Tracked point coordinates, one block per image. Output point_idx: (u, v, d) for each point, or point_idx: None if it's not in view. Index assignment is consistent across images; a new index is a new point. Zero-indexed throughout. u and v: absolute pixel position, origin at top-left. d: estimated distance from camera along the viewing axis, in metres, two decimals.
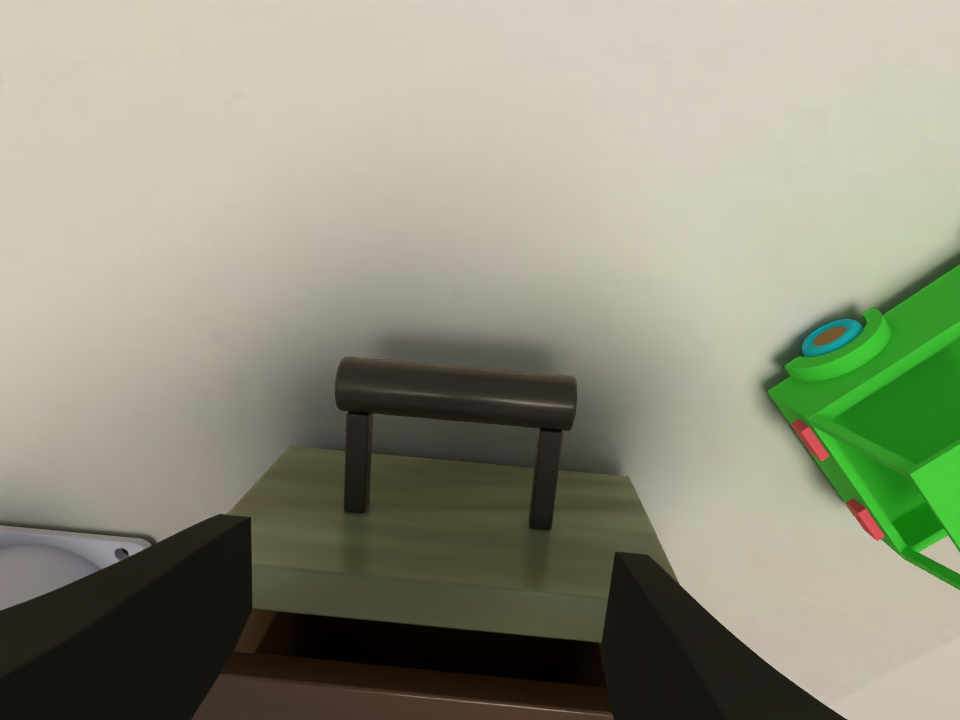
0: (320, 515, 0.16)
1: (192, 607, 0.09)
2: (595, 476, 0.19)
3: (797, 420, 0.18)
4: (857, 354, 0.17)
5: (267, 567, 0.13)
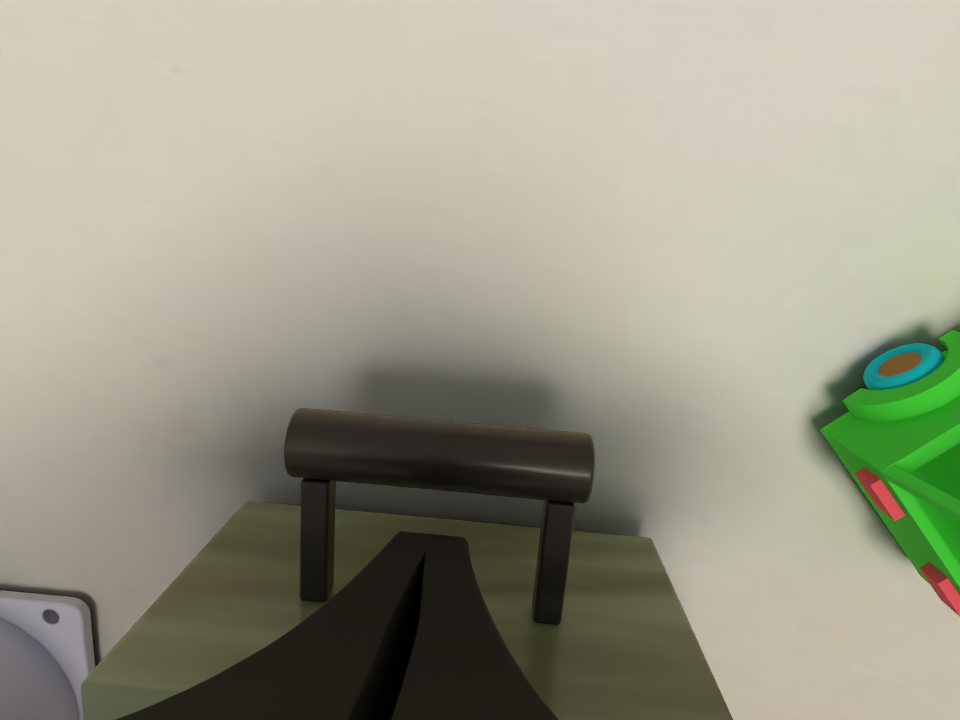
0: (269, 606, 0.12)
1: (408, 629, 0.09)
2: (610, 538, 0.16)
3: (863, 469, 0.14)
4: (941, 389, 0.14)
5: None
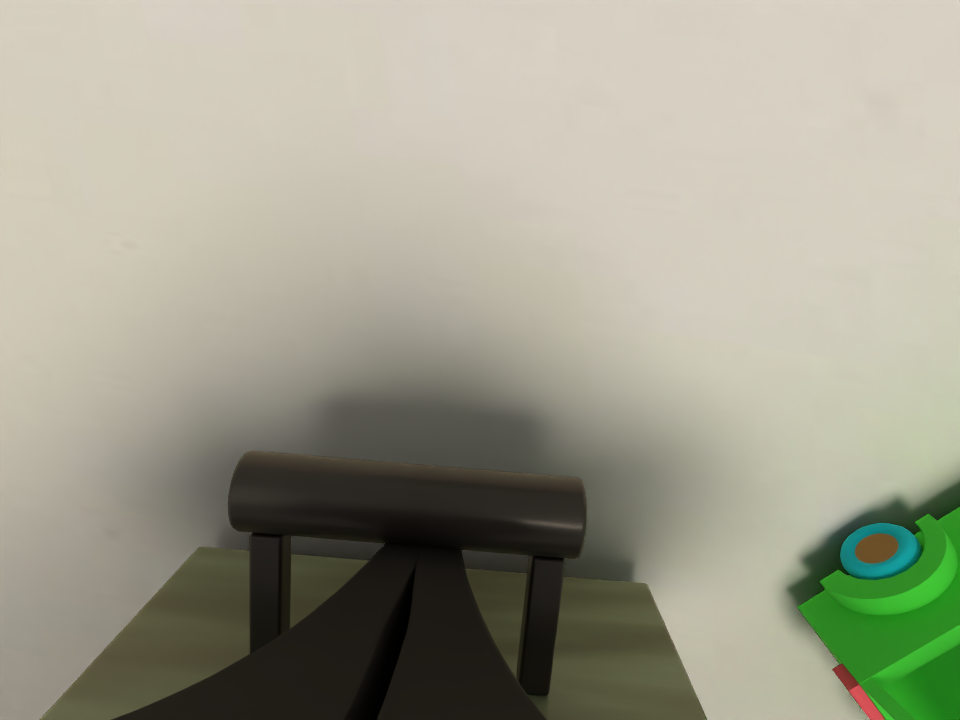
0: None
1: (406, 629, 0.09)
2: (603, 585, 0.15)
3: (841, 665, 0.14)
4: (918, 592, 0.13)
5: None
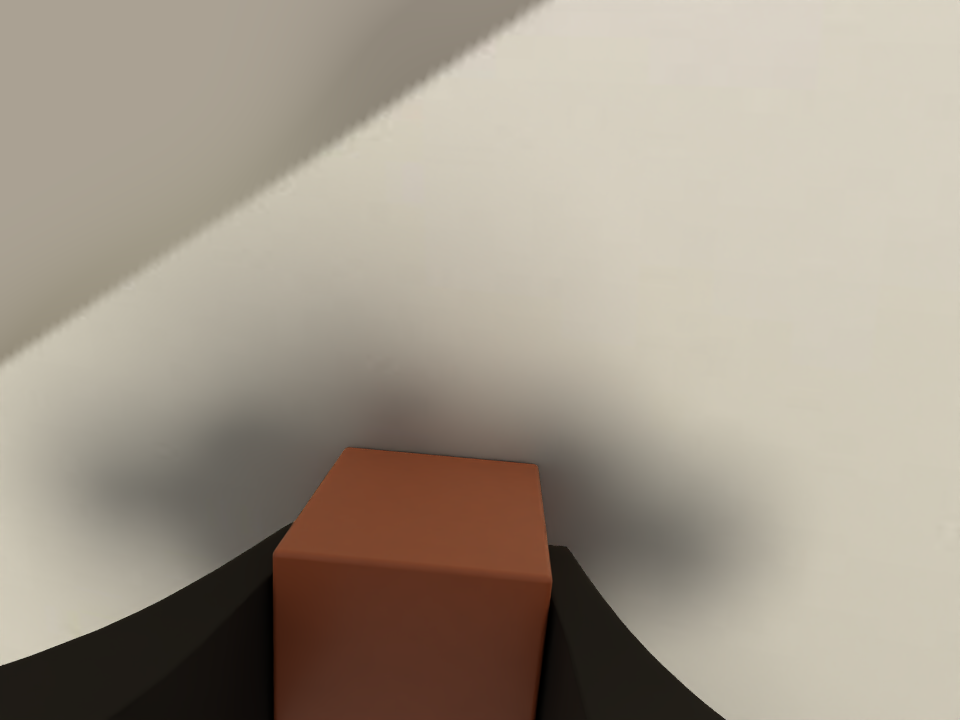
0: None
1: None
2: None
3: None
4: None
5: None
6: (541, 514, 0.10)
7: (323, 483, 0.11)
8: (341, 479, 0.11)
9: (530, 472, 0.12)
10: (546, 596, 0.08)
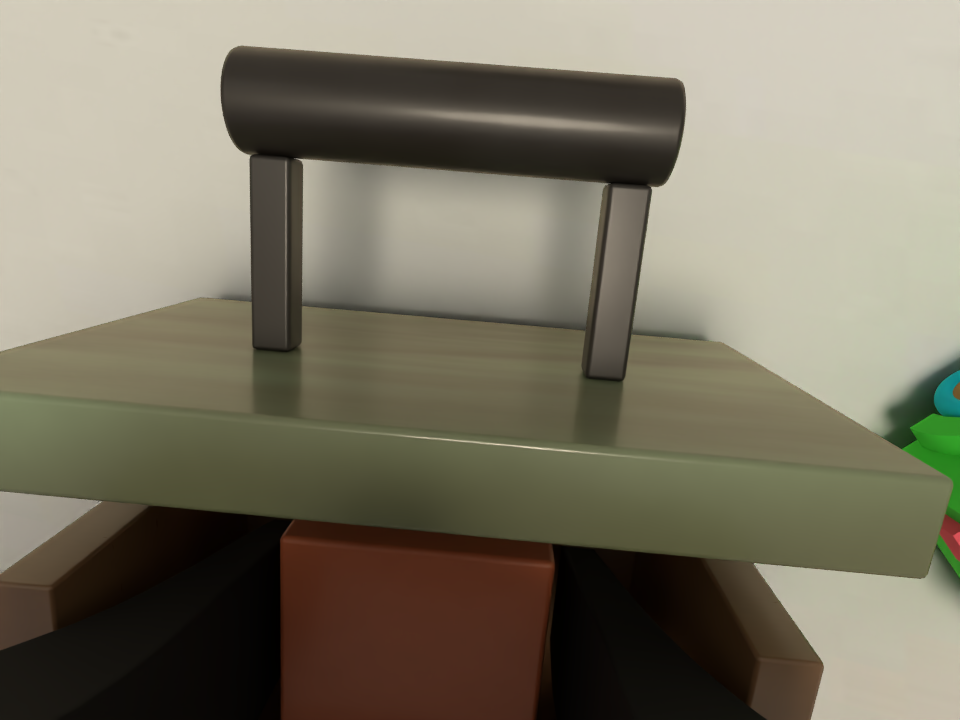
0: (208, 350, 0.09)
1: (257, 614, 0.09)
2: (672, 339, 0.12)
3: None
4: None
5: (56, 403, 0.06)
6: None
7: None
8: None
9: None
10: (549, 581, 0.09)
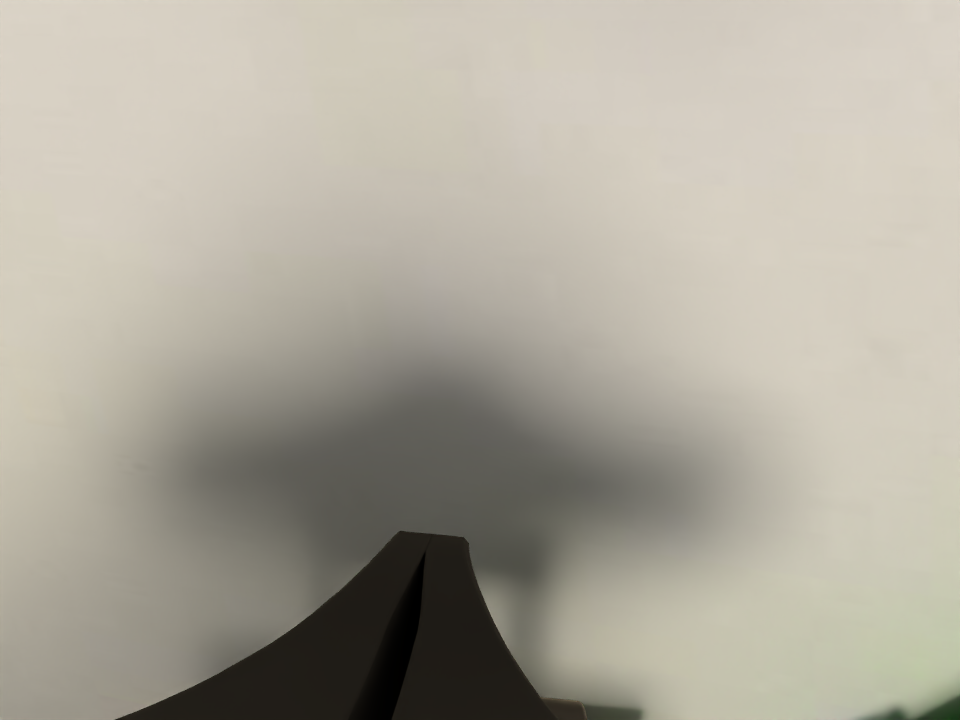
0: None
1: (408, 629, 0.09)
2: None
3: None
4: None
5: None
6: None
7: None
8: None
9: None
10: None
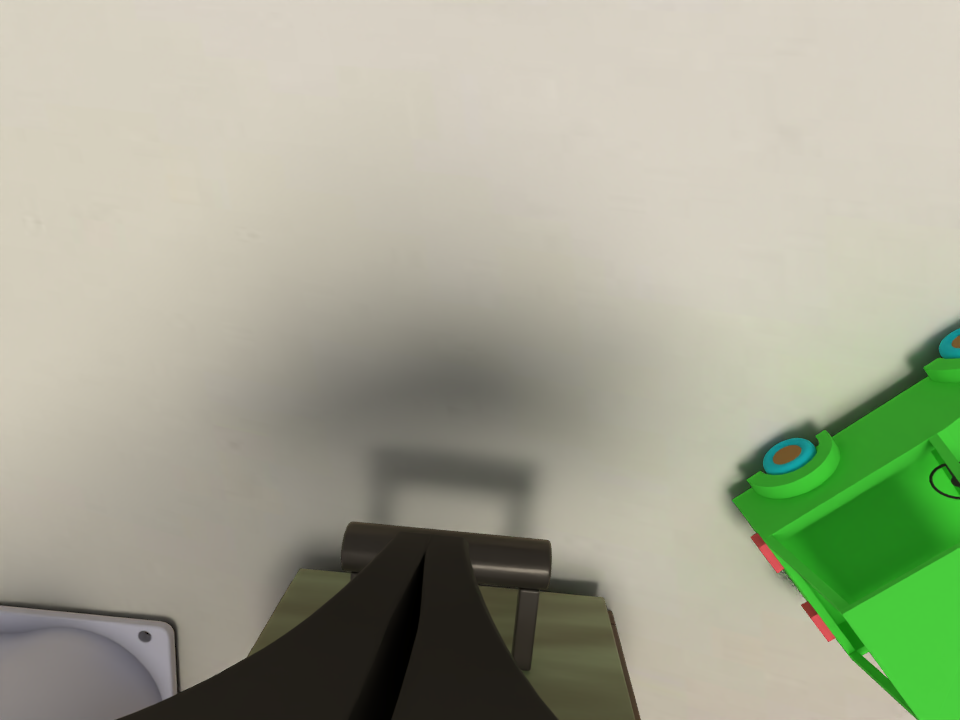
0: None
1: (408, 629, 0.09)
2: (573, 598, 0.22)
3: (756, 534, 0.20)
4: (808, 479, 0.19)
5: None
6: None
7: None
8: None
9: None
10: None
